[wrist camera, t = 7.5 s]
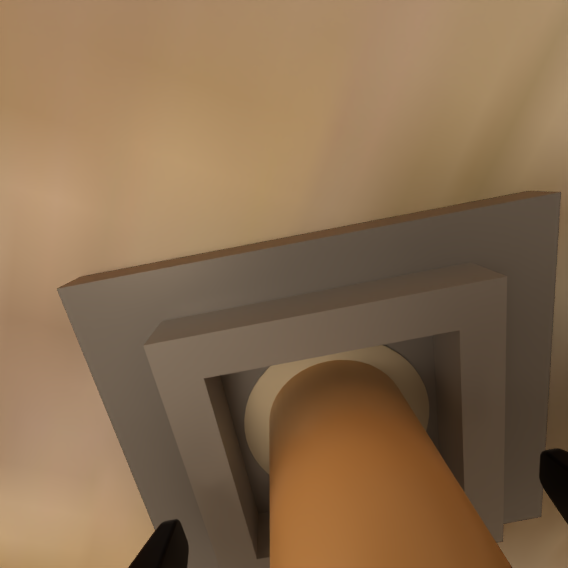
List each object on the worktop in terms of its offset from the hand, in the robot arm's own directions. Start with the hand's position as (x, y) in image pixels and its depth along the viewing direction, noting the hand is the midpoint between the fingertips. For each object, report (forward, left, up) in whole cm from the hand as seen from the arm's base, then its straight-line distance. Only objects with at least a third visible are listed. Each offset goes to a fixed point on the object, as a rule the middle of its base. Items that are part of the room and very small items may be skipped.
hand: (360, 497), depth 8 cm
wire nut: (0, 0, -3) cm, 3 cm away
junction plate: (0, 0, -4) cm, 4 cm away
